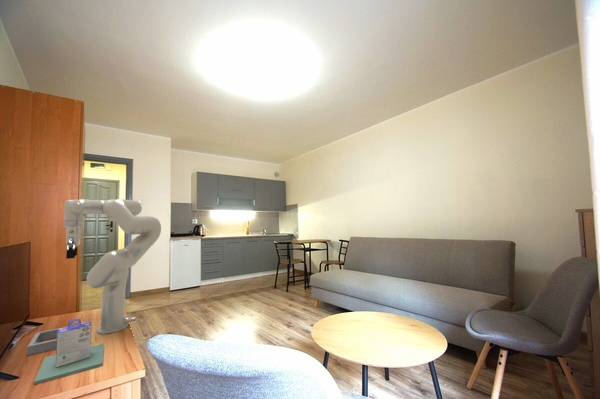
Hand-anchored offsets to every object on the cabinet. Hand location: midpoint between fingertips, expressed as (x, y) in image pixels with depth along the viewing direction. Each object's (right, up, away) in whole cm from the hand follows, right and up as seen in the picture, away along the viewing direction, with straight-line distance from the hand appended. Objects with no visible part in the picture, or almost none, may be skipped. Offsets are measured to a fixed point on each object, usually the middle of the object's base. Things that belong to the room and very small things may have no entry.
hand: (71, 256), depth 131 cm
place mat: (+31, -32, -35) cm, 57 cm away
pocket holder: (+10, -33, -19) cm, 40 cm away
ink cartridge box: (+31, -32, -34) cm, 56 cm away
